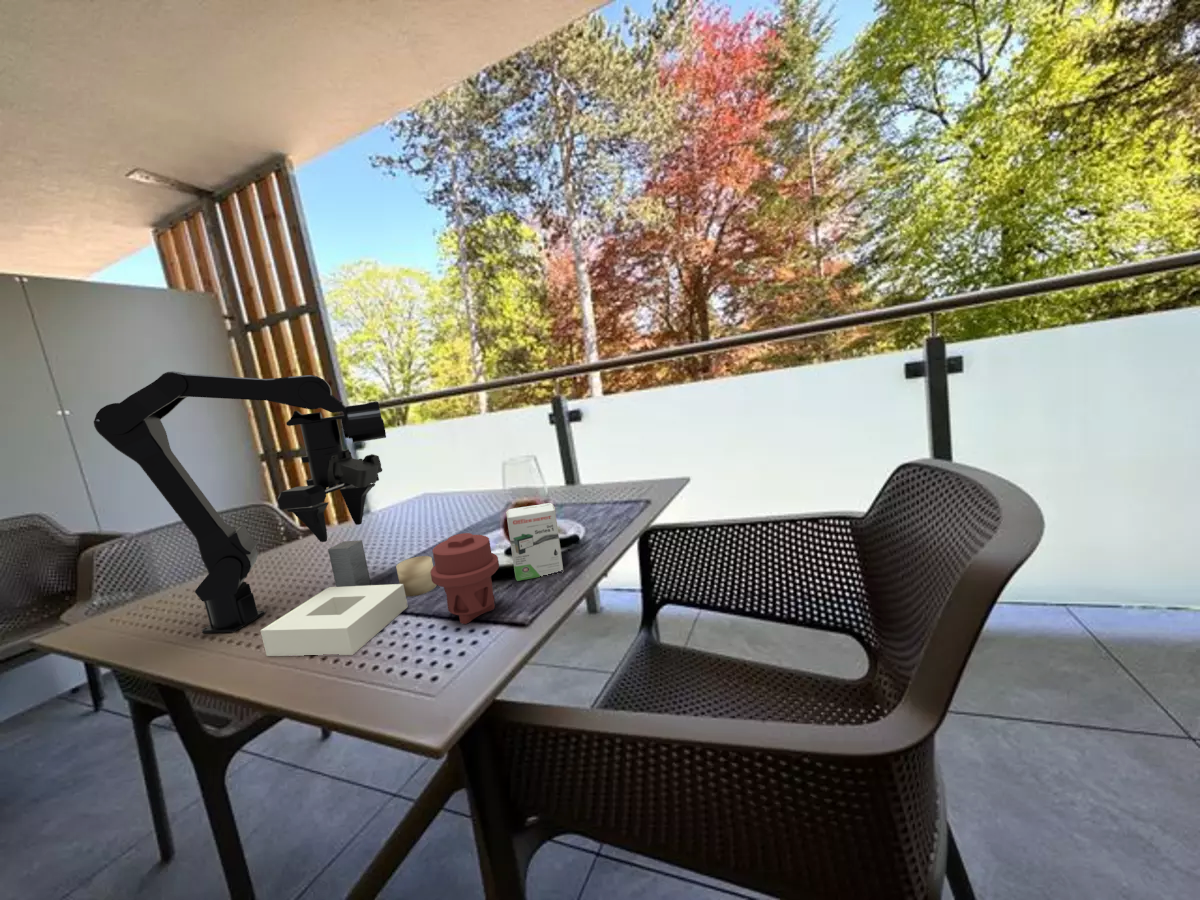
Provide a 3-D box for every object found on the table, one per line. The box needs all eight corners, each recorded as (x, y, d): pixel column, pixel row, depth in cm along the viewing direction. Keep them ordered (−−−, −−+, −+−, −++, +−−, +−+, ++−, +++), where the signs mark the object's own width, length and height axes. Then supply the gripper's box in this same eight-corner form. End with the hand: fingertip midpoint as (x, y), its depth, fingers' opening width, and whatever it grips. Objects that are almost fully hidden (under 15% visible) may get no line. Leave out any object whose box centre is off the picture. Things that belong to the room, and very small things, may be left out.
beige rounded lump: (394, 597, 89) (389, 570, 88) (413, 582, 95) (408, 556, 94) (425, 596, 88) (420, 568, 87) (442, 581, 93) (437, 555, 93)
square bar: (338, 596, 92) (327, 549, 91) (352, 586, 96) (342, 541, 95) (357, 595, 91) (347, 548, 90) (371, 586, 95) (362, 540, 94)
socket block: (266, 656, 73) (260, 630, 73) (333, 609, 87) (328, 587, 86) (352, 655, 70) (346, 628, 70) (407, 606, 84) (403, 583, 83)
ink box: (516, 582, 89) (505, 516, 87) (514, 571, 93) (504, 509, 92) (564, 572, 90) (555, 508, 88) (561, 562, 95) (552, 501, 93)
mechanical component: (515, 597, 82) (490, 630, 73) (458, 599, 84) (427, 631, 75) (503, 524, 80) (476, 547, 71) (445, 528, 82) (411, 551, 73)
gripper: (326, 453, 79) (346, 549, 81) (395, 435, 97) (410, 514, 99) (265, 459, 81) (287, 552, 83) (344, 440, 99) (360, 517, 101)
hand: (342, 532), depth 92 cm, fingers open, 9 cm apart
